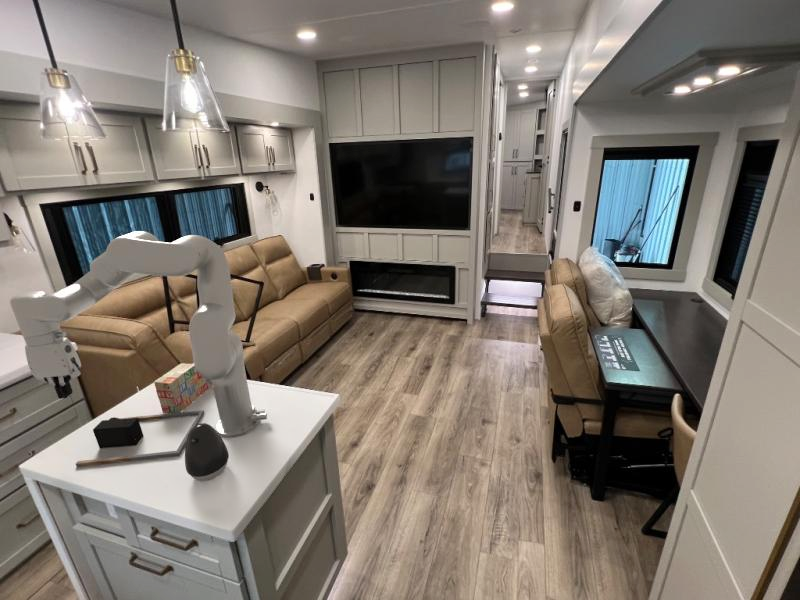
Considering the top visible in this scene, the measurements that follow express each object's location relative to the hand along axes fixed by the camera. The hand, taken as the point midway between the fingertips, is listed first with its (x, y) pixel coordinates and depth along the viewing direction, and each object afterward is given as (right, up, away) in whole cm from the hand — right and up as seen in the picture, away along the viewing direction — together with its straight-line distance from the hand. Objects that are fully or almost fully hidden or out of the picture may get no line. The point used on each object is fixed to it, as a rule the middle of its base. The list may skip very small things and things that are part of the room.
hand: (66, 395), depth 108 cm
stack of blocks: (+21, -7, +29) cm, 36 cm away
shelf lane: (+12, -15, +7) cm, 20 cm away
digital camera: (+12, -16, +7) cm, 21 cm away
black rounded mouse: (+45, -19, -7) cm, 49 cm away
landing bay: (+24, -14, +8) cm, 29 cm away
